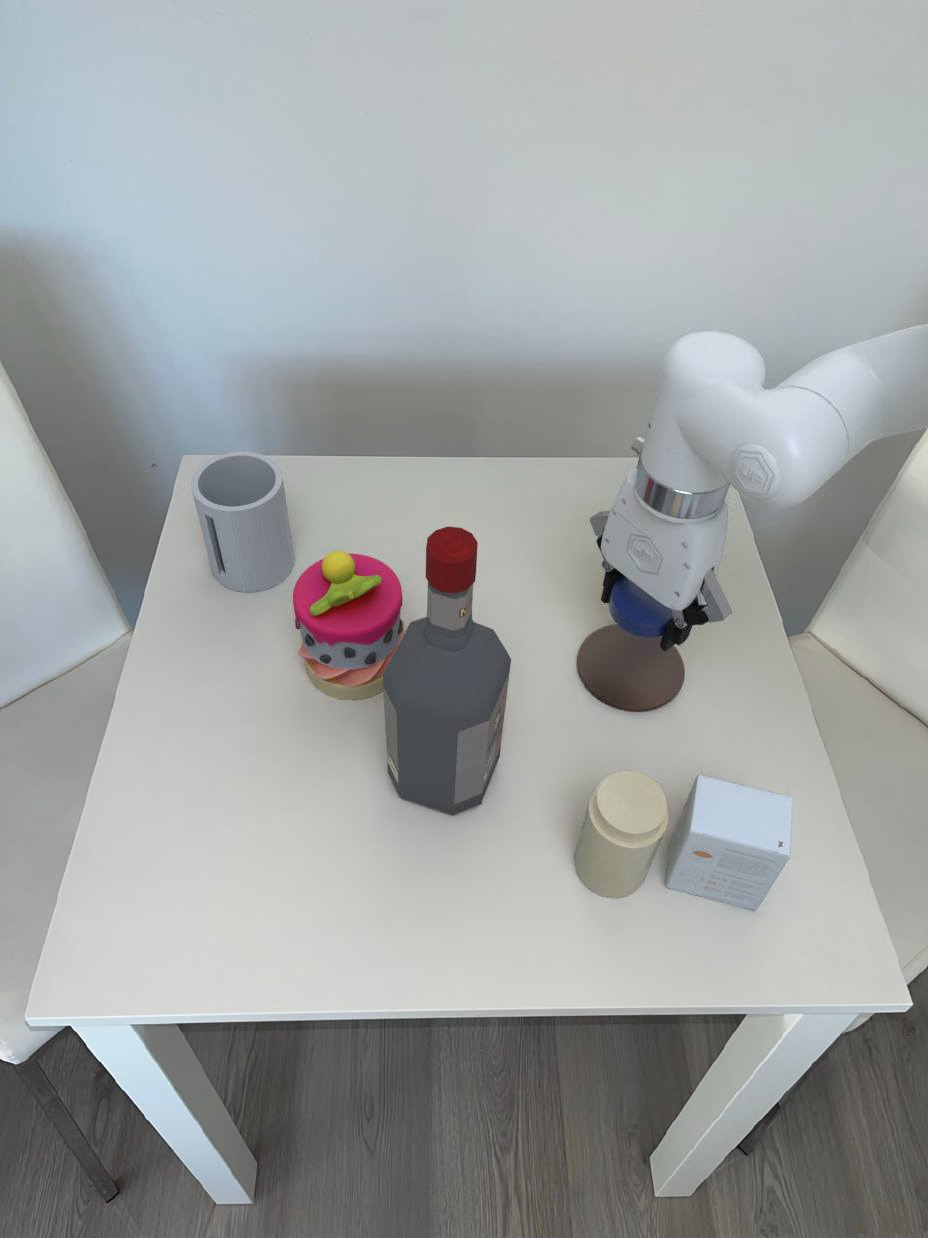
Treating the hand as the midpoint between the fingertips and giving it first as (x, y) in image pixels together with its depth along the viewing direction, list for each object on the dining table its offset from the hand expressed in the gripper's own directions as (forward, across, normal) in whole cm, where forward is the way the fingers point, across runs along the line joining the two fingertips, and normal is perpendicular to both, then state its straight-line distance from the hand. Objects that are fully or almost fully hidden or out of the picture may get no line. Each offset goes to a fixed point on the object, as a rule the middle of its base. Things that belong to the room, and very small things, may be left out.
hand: (642, 617), depth 90 cm
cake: (+8, -19, -21) cm, 30 cm away
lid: (-3, 0, 0) cm, 3 cm away
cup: (+8, -37, -22) cm, 44 cm away
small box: (+8, +20, -11) cm, 24 cm away
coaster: (+8, 0, 0) cm, 8 cm away
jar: (+8, +14, -18) cm, 24 cm away
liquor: (+8, -3, -23) cm, 24 cm away
